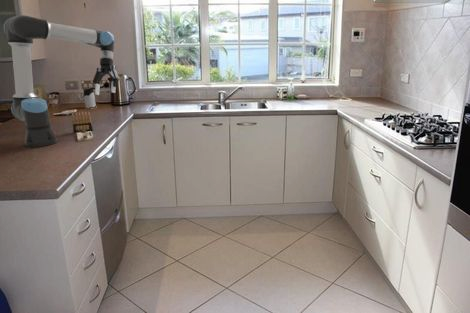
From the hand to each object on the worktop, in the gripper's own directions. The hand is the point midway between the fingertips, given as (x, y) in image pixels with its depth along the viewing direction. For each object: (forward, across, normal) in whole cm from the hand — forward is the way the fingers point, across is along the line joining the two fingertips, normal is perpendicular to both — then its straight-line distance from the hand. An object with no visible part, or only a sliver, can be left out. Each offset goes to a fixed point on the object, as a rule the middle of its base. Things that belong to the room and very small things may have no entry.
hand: (105, 93), depth 233 cm
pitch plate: (+28, -3, +16) cm, 32 cm away
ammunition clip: (+24, +9, +7) cm, 26 cm away
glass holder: (-7, +77, -53) cm, 94 cm away
